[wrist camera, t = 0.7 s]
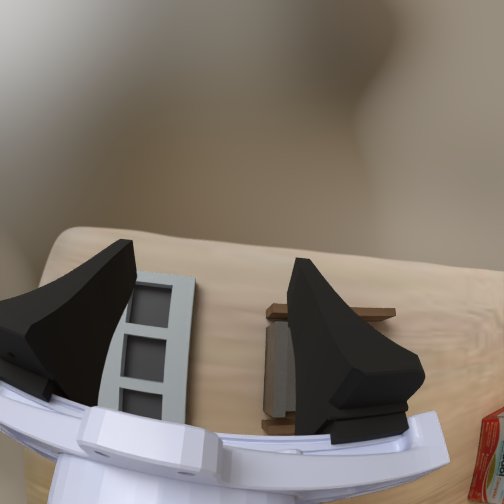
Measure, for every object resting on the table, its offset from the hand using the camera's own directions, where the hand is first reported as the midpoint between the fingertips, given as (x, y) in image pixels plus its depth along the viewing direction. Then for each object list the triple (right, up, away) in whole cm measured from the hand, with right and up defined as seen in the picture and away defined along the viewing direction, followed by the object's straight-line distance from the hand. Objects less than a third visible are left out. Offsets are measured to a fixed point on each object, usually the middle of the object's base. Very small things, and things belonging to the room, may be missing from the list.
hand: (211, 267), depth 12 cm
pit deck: (-8, -9, +12) cm, 17 cm away
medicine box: (+39, -31, +11) cm, 51 cm away
